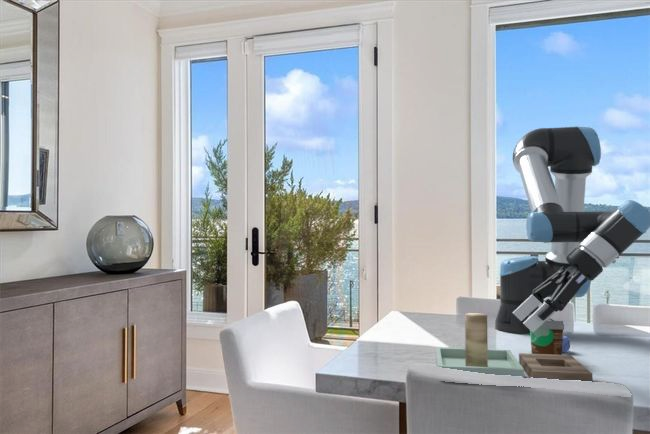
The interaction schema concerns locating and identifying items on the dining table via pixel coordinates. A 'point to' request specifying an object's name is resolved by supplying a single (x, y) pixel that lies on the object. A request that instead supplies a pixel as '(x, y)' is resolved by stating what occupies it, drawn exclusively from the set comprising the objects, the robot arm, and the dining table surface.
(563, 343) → the decorative dice
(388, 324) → the dining table surface
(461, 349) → the tray
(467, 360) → the dowel
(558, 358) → the dowel block
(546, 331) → the food container
